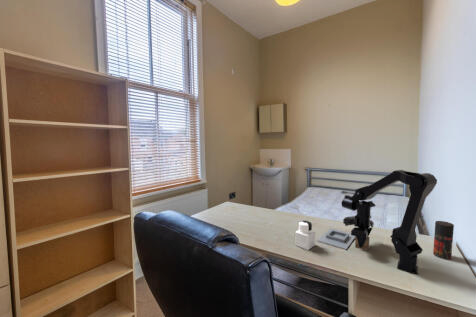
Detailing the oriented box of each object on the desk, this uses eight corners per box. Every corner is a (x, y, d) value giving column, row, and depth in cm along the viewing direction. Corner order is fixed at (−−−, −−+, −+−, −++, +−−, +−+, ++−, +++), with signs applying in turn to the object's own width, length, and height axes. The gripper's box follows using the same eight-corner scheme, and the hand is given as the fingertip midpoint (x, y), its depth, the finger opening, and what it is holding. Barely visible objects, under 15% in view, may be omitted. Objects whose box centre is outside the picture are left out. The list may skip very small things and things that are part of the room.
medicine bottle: (302, 240, 114) (302, 218, 113) (315, 245, 109) (315, 221, 108) (294, 245, 109) (295, 222, 108) (308, 250, 104) (308, 226, 103)
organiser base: (346, 249, 104) (346, 245, 104) (317, 241, 113) (317, 237, 113) (356, 235, 119) (356, 231, 119) (330, 228, 128) (330, 225, 128)
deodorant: (432, 251, 102) (435, 219, 100) (450, 255, 98) (453, 222, 97) (433, 256, 97) (435, 223, 96) (452, 261, 93) (454, 227, 92)
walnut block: (366, 250, 103) (367, 240, 103) (355, 247, 107) (355, 237, 106) (369, 246, 107) (369, 236, 107) (357, 243, 110) (358, 234, 110)
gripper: (350, 205, 118) (349, 233, 119) (339, 215, 104) (338, 246, 105) (374, 209, 110) (373, 239, 112) (366, 220, 96) (365, 254, 98)
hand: (362, 244), depth 107 cm, fingers open, 6 cm apart
